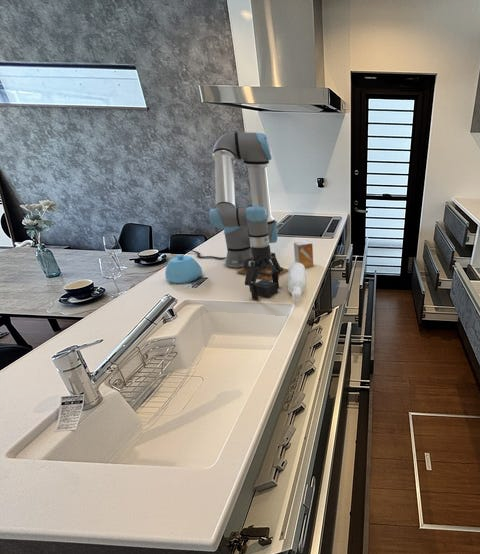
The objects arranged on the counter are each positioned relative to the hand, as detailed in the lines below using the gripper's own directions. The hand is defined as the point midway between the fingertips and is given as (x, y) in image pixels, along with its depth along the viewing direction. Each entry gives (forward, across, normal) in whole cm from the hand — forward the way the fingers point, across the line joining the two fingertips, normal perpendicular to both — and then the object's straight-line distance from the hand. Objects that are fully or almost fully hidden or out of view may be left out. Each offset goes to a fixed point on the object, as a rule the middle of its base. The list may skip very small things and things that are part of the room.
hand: (266, 292), depth 132 cm
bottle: (-4, +21, -1) cm, 21 cm away
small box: (0, +35, +5) cm, 35 cm away
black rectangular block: (0, 0, 0) cm, 0 cm away
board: (0, +18, +18) cm, 26 cm away
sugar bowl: (0, -5, +45) cm, 45 cm away
